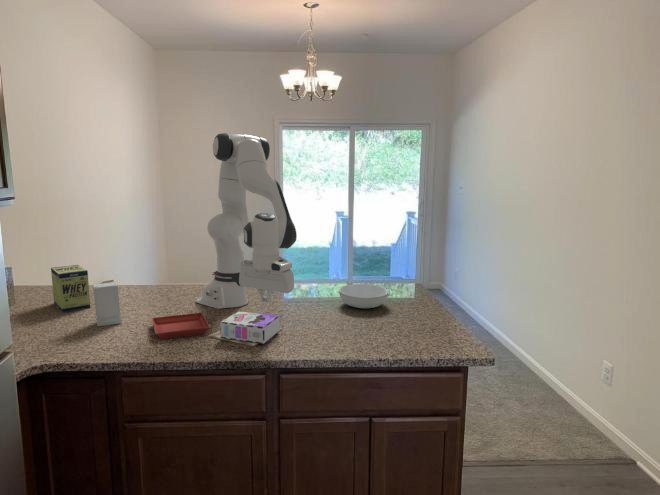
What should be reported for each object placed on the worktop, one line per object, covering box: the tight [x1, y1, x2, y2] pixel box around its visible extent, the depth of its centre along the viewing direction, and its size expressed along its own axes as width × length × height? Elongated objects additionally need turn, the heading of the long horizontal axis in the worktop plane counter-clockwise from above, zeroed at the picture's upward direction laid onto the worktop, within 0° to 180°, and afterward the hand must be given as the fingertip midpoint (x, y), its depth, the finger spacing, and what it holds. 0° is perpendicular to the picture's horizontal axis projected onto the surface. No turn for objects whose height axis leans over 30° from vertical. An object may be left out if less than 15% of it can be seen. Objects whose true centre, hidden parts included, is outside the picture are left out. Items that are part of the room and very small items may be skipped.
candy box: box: [219, 310, 281, 344], centre depth 162 cm, size 14×6×16 cm
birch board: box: [209, 327, 283, 347], centre depth 165 cm, size 18×18×1 cm
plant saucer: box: [151, 312, 211, 340], centre depth 168 cm, size 18×18×3 cm
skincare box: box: [92, 281, 122, 327], centre depth 172 cm, size 8×6×15 cm
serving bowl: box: [338, 283, 389, 310], centre depth 200 cm, size 21×21×7 cm
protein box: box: [50, 264, 91, 313], centre depth 192 cm, size 10×16×16 cm
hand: (266, 302), depth 160 cm, fingers closed
